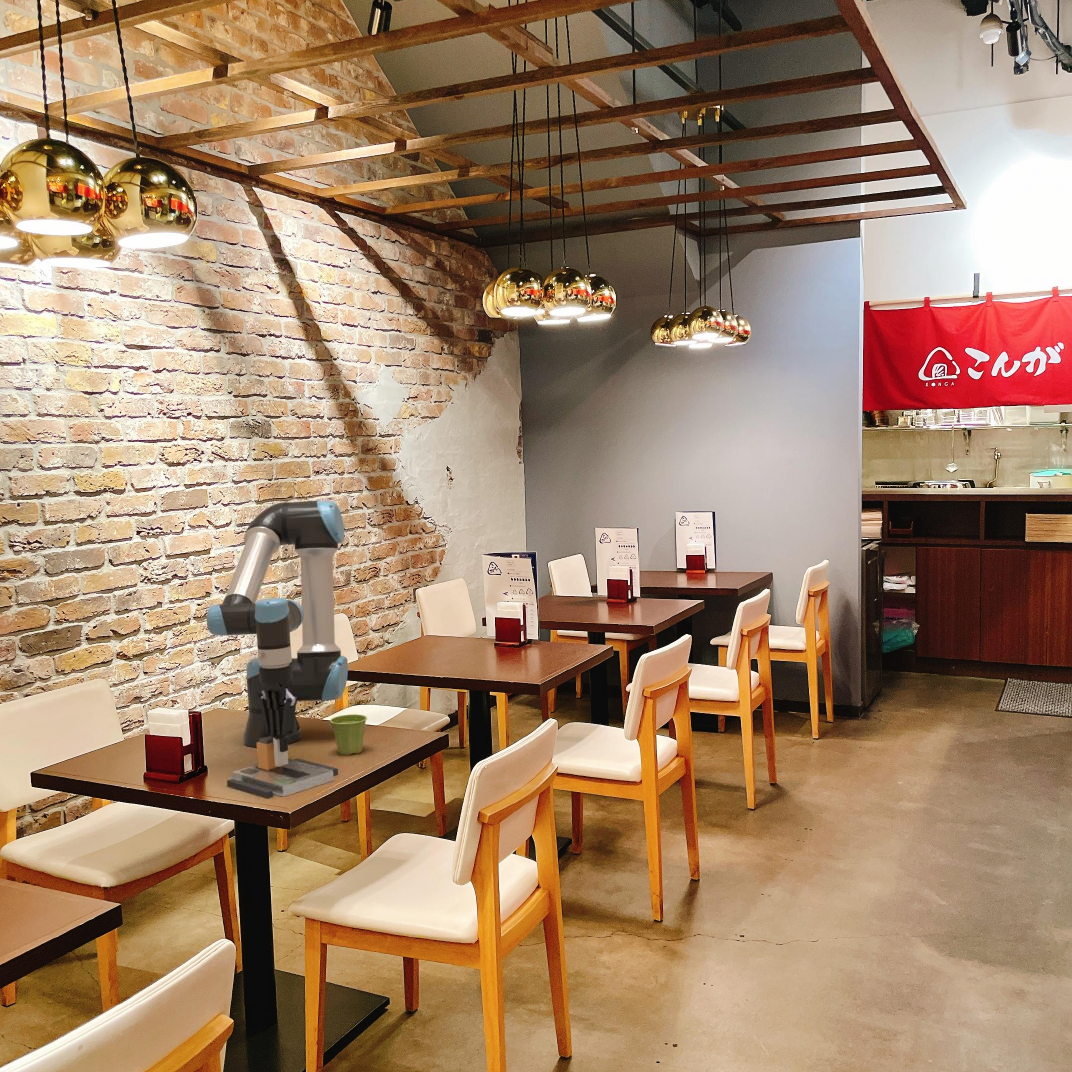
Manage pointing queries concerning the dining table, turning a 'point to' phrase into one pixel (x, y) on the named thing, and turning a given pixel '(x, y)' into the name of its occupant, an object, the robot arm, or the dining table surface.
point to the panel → (285, 777)
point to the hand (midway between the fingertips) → (281, 764)
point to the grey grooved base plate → (266, 792)
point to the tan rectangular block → (266, 753)
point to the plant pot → (349, 733)
